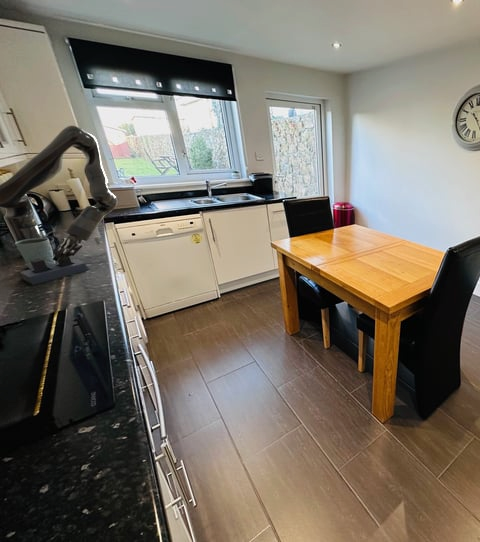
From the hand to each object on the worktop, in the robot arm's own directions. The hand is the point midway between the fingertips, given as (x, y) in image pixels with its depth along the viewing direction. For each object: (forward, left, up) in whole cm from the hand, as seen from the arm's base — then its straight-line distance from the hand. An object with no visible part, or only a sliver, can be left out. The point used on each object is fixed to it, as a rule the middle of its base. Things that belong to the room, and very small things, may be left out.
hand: (57, 261), depth 121 cm
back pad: (-1, +2, -4) cm, 5 cm away
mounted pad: (+2, -5, -6) cm, 8 cm away
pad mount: (+1, -2, -6) cm, 6 cm away
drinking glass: (-17, -7, -6) cm, 19 cm away
